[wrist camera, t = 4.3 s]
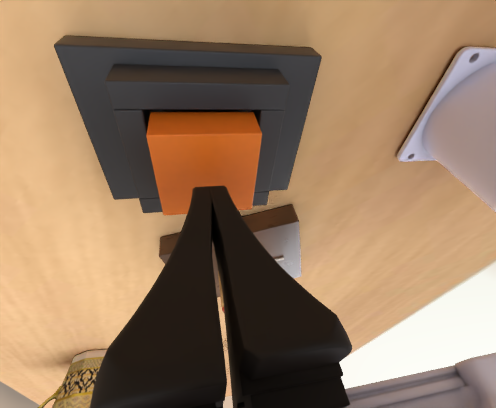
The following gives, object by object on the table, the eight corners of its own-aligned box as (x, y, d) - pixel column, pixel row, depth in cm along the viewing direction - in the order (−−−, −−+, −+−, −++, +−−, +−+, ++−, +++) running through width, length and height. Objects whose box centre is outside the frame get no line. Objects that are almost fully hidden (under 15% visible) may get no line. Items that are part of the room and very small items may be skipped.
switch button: (253, 111, 13) (262, 133, 11) (245, 185, 16) (252, 209, 15) (150, 111, 12) (145, 135, 10) (165, 189, 15) (163, 215, 14)
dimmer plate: (292, 204, 23) (299, 222, 21) (296, 260, 30) (302, 277, 29) (160, 237, 23) (158, 258, 21) (196, 286, 30) (196, 304, 29)
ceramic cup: (134, 342, 39) (124, 429, 32) (132, 362, 46) (123, 438, 39) (29, 350, 35) (-9, 452, 28) (43, 371, 41) (15, 458, 34)
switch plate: (312, 47, 14) (339, 70, 11) (282, 177, 20) (295, 209, 18) (63, 35, 12) (33, 60, 9) (117, 185, 18) (107, 223, 16)
